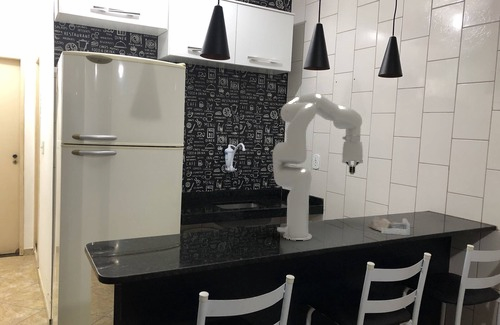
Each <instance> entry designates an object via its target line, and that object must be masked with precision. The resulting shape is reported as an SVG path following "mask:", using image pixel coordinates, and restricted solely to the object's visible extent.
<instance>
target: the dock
mask: <svg viewBox="0 0 500 325" xmlns="http://www.w3.org/2000/svg"><path fill="white" fill-rule="evenodd" d="M391 224H392V228H381V231H380V233H381V234H384V235H385V234H387V235H401V236H402V235H403V236H410V235H411V224H410V222H409V221H408V219H407V218H405V217H404V218H402V222H396V223H395V222H391Z"/></svg>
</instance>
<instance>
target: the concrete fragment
mask: <svg viewBox="0 0 500 325" xmlns="http://www.w3.org/2000/svg"><path fill="white" fill-rule="evenodd" d="M391 223H392V222H391V221H390V220H389V219H388V218H382V217H378V216H373V217H372V219H371V220H370V221H369V222H368V223H367V224H368V228H372V229H374V230H376V231H379V232H381V228H392V224H391Z"/></svg>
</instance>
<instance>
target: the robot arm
mask: <svg viewBox="0 0 500 325" xmlns="http://www.w3.org/2000/svg"><path fill="white" fill-rule="evenodd" d="M316 115H318V116H319V117H321V118H323V119H324V120H326V121H330V122H331V121H332V123H333V126H334V128H336V129H338V130H345V135H344V136H342V140H345V141H343V145H342V153H341V154H342V155H341V156H342V159H341V163H342V164H346V165H347V166H348V172H349V174H350V175H354V174H355V173H356V166H358V165H359V164H363V163H364V161H363V157H364V155H363V154H364V153H363V142H362V141H361V130H362V129H361V126H362V124H363V119H362V116H361V114H360V113H359V112H358V111H356V110H355V109H353V108H351V107H347V106H344V105H341V104H336V103H334V102H333V101H332V100H330V99H328V98H327V97H325V96H324V95H322V94H320V93H306V94H300V95H298V96H297V97H295V98H293V99H291V100H290V101H288V102H287V103H285V104H283V106H282V107H281V109H280V117H281V119H282V120H283V121H284V122H285V123H289V124H288V126H287V129H286V136H285V137H286V138H285V139H286V141H285V142H283V141H282V142H279V143H277V144H276V145H275V146H274V147H273V151H272V166H273V169H272V170H273V177H274V178H273V179H274V182H275V183H276V185H277V186H279V187H282V188H283V187H284V188H289V189H290V191H289V193H288V194H287V199H286V203H287V204H286V206H287V207H286V208H287V209H286V226H284V227H278V226H277V228H276V230H277V232H278V233H283V235H282V236H283V238H284V239H285V238H286V240H289V239H290V241H296V240H303V241H308V240H309V241H310V240H311V239H312V237H313V235H312V234H311V233H309V208H310V207H309V205H310V204H309V199H310V189H311V183H312V173H311V171H310V170H309V169H308V168H305V167H303V166H295V165H300V164H303V163H305V162H306V160H307V154H308V153H307V152H308V151H307V129H308V126H309V125H310V123H311V122H312V121H313V119H315V116H316ZM352 162H353V164H352ZM290 164H292V166H290ZM293 165H294V166H293Z"/></svg>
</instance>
